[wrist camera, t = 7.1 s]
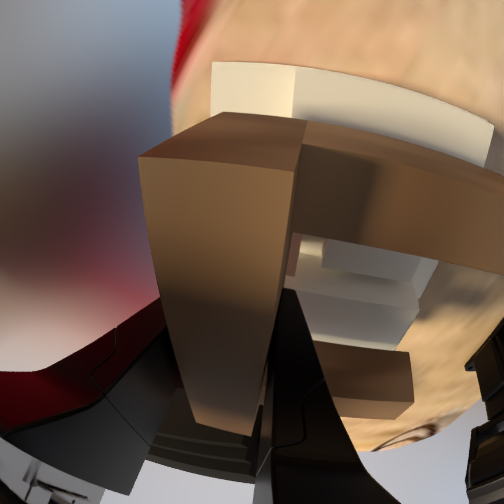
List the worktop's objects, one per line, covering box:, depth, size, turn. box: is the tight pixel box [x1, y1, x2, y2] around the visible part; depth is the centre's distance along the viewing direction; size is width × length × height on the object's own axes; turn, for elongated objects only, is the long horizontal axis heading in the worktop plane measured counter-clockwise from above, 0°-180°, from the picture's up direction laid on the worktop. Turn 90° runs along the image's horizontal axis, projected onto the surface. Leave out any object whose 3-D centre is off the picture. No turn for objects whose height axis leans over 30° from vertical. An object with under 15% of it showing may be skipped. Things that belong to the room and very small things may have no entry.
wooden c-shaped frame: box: [211, 62, 494, 351], centre depth 12 cm, size 12×13×4 cm
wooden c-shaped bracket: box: [138, 112, 504, 436], centre depth 8 cm, size 8×10×4 cm
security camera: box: [145, 378, 264, 484], centre depth 21 cm, size 7×18×10 cm, turn 119°
